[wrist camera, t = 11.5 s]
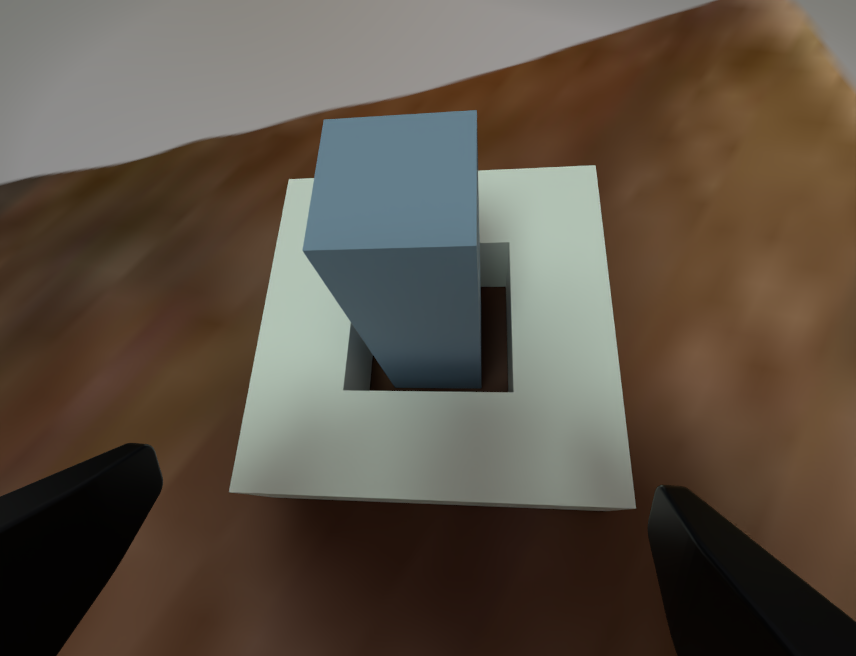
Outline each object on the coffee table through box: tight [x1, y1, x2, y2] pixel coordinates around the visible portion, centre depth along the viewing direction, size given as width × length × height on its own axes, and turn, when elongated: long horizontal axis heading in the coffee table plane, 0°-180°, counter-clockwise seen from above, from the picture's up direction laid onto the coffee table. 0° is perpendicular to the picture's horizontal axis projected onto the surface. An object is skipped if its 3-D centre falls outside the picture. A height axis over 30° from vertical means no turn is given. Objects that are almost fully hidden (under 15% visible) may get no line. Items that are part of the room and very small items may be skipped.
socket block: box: [229, 165, 636, 511], centre depth 20 cm, size 14×14×4 cm
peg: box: [302, 110, 481, 388], centre depth 17 cm, size 4×4×12 cm
